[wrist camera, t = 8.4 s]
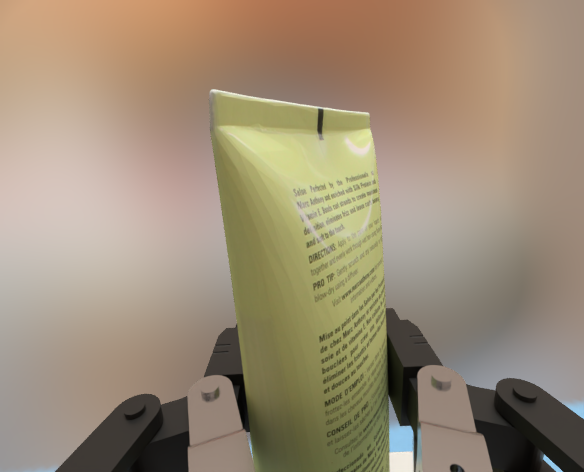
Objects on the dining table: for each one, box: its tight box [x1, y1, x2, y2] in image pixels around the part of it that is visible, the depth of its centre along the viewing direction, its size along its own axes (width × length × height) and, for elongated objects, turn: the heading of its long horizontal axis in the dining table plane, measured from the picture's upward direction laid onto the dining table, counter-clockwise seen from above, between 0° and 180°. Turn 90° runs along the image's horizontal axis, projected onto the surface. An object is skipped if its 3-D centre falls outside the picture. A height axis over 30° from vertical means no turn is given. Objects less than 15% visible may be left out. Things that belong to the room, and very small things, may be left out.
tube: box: [209, 89, 390, 472], centre depth 11 cm, size 6×5×20 cm
